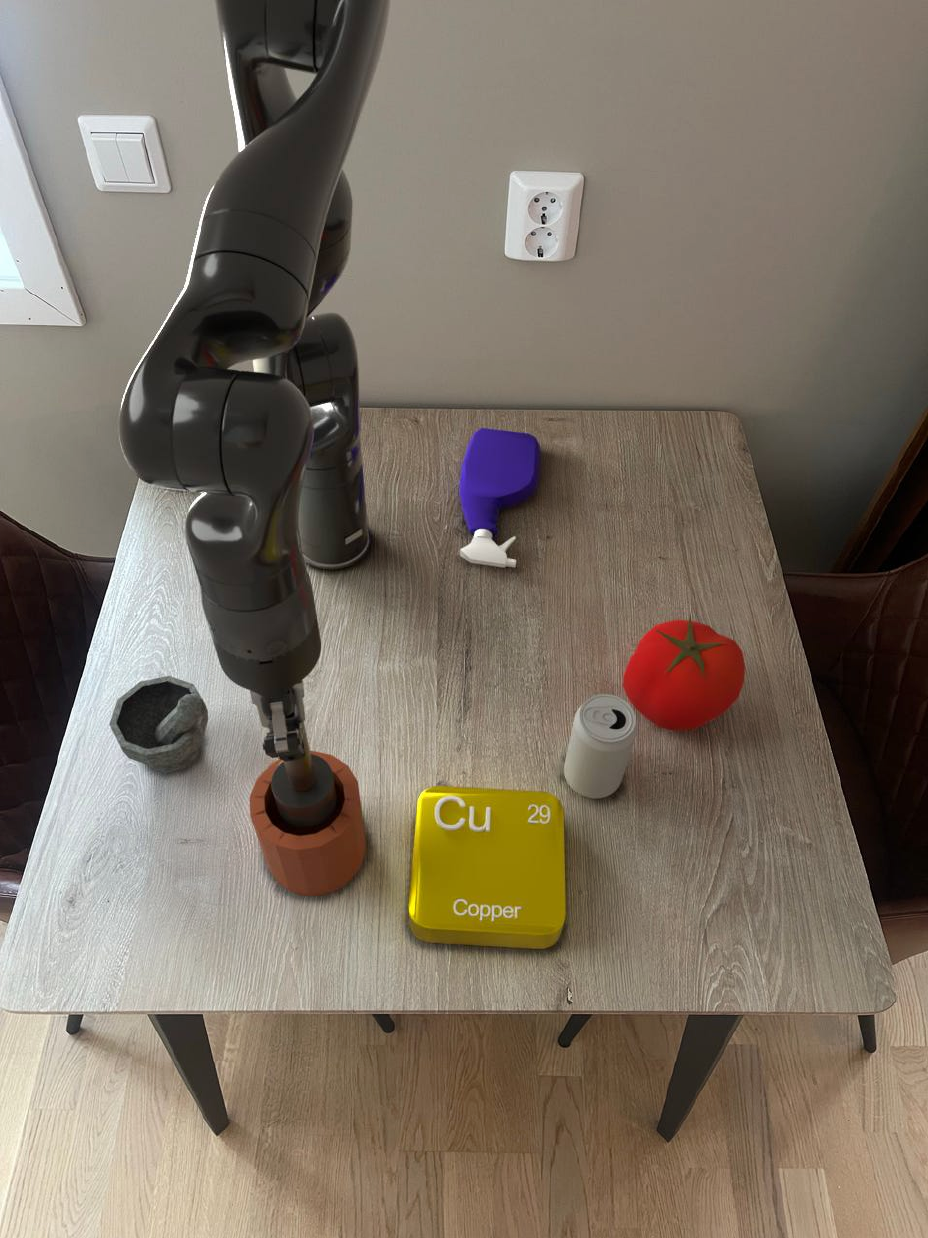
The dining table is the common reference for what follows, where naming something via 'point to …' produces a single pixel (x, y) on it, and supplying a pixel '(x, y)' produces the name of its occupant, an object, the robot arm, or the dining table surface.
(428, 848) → the element tile
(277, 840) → the jar
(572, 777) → the beverage can
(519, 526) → the dining table surface
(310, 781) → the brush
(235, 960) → the dining table surface
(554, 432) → the dining table surface
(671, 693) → the tomato
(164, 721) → the mortar and pestle
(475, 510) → the spray bottle
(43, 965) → the dining table surface
